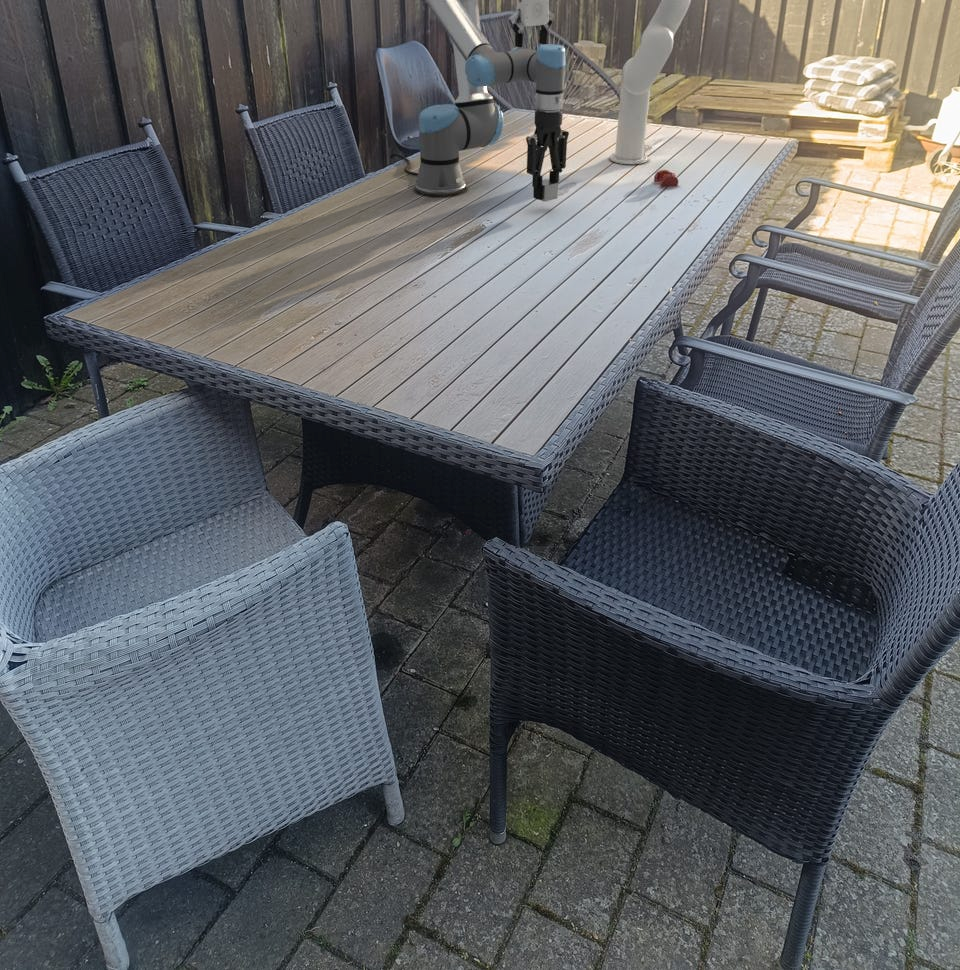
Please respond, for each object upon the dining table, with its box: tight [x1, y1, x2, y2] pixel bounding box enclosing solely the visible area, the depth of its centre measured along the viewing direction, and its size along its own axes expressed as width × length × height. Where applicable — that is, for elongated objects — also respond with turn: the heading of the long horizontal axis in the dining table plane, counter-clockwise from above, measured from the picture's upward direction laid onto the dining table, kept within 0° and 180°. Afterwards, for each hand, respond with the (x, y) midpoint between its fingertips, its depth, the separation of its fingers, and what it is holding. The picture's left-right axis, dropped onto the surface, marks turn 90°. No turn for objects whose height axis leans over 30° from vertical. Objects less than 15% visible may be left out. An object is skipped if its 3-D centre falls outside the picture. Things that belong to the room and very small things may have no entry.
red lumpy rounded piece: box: [653, 169, 679, 188], centre depth 261 cm, size 6×4×8 cm
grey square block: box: [532, 178, 559, 202], centre depth 239 cm, size 5×5×4 cm
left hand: (545, 196), depth 240 cm, fingers closed on grey square block, 5 cm apart
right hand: (531, 45), depth 269 cm, fingers open, 9 cm apart
